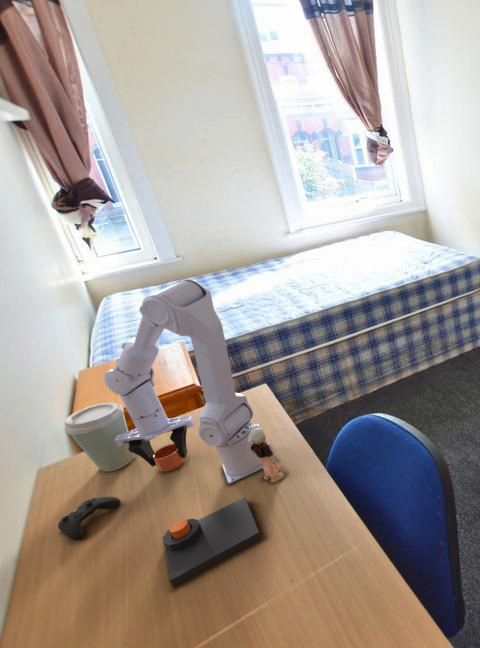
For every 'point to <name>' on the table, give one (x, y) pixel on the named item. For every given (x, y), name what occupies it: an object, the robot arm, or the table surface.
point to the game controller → (84, 515)
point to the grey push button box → (210, 541)
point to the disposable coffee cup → (100, 434)
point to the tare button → (179, 529)
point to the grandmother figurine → (264, 455)
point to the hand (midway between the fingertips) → (169, 459)
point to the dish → (167, 458)
